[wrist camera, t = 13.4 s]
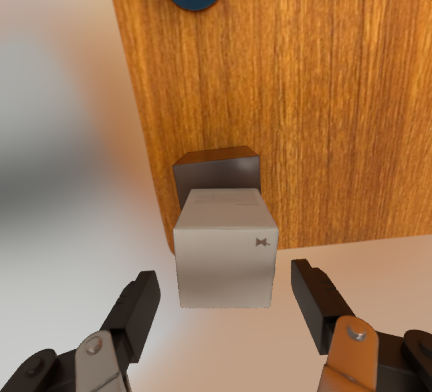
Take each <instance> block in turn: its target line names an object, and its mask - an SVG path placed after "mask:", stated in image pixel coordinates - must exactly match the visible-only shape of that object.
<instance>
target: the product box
mask: <svg viewBox="0 0 432 392" xmlns="http://www.w3.org/2000/svg"><path fill="white" fill-rule="evenodd" d="M173 236H174V248H175V260H176V270H177V279H178V289H179V298H180V305H181V307H182V308H269V307H270V306H271V295H272V286H273V279H274V275H275V260H276V252H277V244H278V236H279V229H278V227H277V225H276V223H275V221H274V219H273V217H272V215H271V214H270V212H269V210H268V208H267V206H266V204H265V202H264V200H263V198H262V196H261V195H260V193H259V191H258V189H256V188H235V189H191V191H190V193H189V196H188V198H187V200H186V203H185V205H184V207H183V210H182V212H181V214H180V216H179V218H178V221H177V223H176V225H175V227H174V229H173Z"/></svg>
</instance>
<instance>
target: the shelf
mask: <svg viewBox="0 0 432 392" xmlns="http://www.w3.org/2000/svg"><path fill="white" fill-rule="evenodd" d="M173 172H174V177H175V182H176V187H177V192H178V197H179V203H180V208H181V212H182V210H183V207H184V205H185V203H186V200H187V198H188V196H189V193H190V191H191V189H235V188H256V189H258V191H259V193H260V195H261V180H260V158H259V155H258V154H257V153H255V152H254V151H253V150H252V149H251V148H249V147H248V146H239V147H231V148H222V149H214V150H205V151H197V152H188V153H186V154H185V155H184V156H183V157H182V158H181V159H180V160H178V161H177V162H176V163H175V164H174V165H173Z"/></svg>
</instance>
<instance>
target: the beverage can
mask: <svg viewBox="0 0 432 392" xmlns="http://www.w3.org/2000/svg"><path fill="white" fill-rule="evenodd" d="M173 1H174V2H175V3H176V4H177V5H179V6H180V7H182V8H185V9H188V10H201V9H204V8H206V7H208V6H210V5H211V4H213V3H214V2H215V1H216V0H173Z"/></svg>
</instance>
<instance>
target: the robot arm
mask: <svg viewBox="0 0 432 392" xmlns="http://www.w3.org/2000/svg"><path fill="white" fill-rule="evenodd" d="M291 285H292V290H293V293H294V295H295V298H296V300H297V302H298V305H299V307H300V309H301V312H302V314H303V316H304V319H305V321H306V324H307V326H308V328H309V330H310V333H311V335H312V338H313V340H314V342H315V345H316V347H317V349H318V352H319V354H320V355H328V357H327V361H326V364H324V367H323V370H322V374H321V378H320V382H319V386H318V390H317V392H432V334H430V333H427V332H424V331H421V330H409V331H407V332H406V333H405V334H404V338H403V337H398V336H394V335H390V334H385V333H381V332H378V331H375V330H374V329H373V328H372V327H371V326H370V325H369V324H368V323H367V322H365V321H364V320H362V319H360V318H357V317H356V316H355V314H354V313H353V312H352V310H351V309H350V307H349V306H348V305H347V303H346V302H345V300H344V299H343V297H342V296H341V294H340V293H339V292H338V290H336V287H335V286H334V284H333V283H332V282H331V280H330V279H329V278H328V276H327V274H325V273H324V272H323V271H322V270H320V269H319V268H312V267H311V266H310V264H309V262H308V261H307V260H306V259H296V260H292V261H291ZM160 296H161V295H160V288H159V284H158V280H157V277H156V273H155V271H154V270H153V271H141V272H140V273H139V275H138V277H137V278H136V280H135V281H132V282H130V283H129V284H128V285H127V286H126V287H125V288H124V290H123V291H122V293H121V295H120V297H119V298H118V300H117V301H116V304H115V305H114V306H113V308H112V310H111V312H110V313H109V315H108V316H107V318H106V320H105V321H104V323H103V325H102V327H101V328H100V330H99V331H97V332H95V333H93V334H91V335H90V336H88V337H87V338H86V339H85V340H84V341H83V342H82V343H81V344H80V345H79V347H78V348H77V349H74V350H71V351H69V352H66V353H63V354H61V355H58V356H57V354H56V353H55V351H54V350H53V349H44V350H41V351H39V352H37V353H35V354H34V355H32V356H31V357H29V358H28V359H27V360H26V361H24V363H22V364H21V365H20V367H19V368H18V369H17V370H16V372H15V373H14V374H13V375H12V377H11V378H10V379H9V380H8V382H7V383H6V384H5V386H4V387H3V388H2V389H1V391H0V392H132V391H131V387H130V383H129V379H128V375H127V372H126V371H127V369H128V366H129V364H130V363H138V362H139V359H140V356H141V353H142V350H143V348H144V344H145V342H146V339H147V336H148V333H149V331H150V328H151V325H152V322H153V319H154V316H155V313H156V311H157V308H158V305H159V302H160Z"/></svg>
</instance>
